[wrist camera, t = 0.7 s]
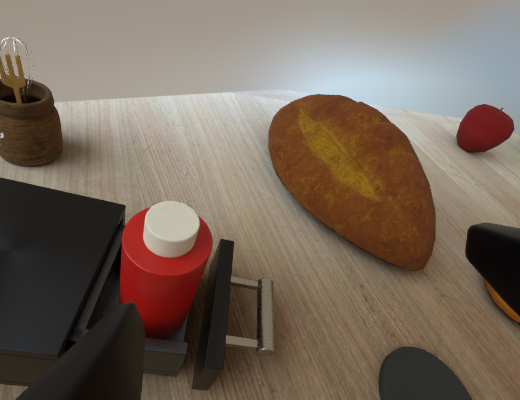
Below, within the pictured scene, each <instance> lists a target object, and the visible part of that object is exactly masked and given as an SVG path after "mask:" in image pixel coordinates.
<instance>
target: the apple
mask: <svg viewBox="0 0 520 400" xmlns="http://www.w3.org/2000/svg"><path fill="white" fill-rule="evenodd" d="M502 109H503V108H501V110H499V109H497V108H495V107H493V106H490V105H486V104H483V105H478V106H476V107H474V108H473V109H471V110H470V111H468V112H467V114H466V116H465V117H464V118H463V120H462V121H461V123H460V126H459V129H458V132H457V140H458V144H459V146H460V147H461V148H462V149H464V150H466V151H468V152H485V151H487V150H490V149H492V148H494V147H496V146H498V145H500V144H501V143H503V142H504V141H505V140H507V139H508V138H510V136H511V134H512V132H513V131H514V123H513V120H512V119H511V118H510V117H509V116H508V115H507V114H505V113H504V112H503V111H502Z"/></svg>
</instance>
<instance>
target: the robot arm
mask: <svg viewBox="0 0 520 400" xmlns="http://www.w3.org/2000/svg"><path fill="white" fill-rule="evenodd" d="M465 254H466V257H467V259H468V261H469V262H470V263H471V264H472V265H473V266H474V268H475V269H476V270H477V271H478V272H479V273H480V274H481V275H482V277H483V278H484V279H485V280H486V281H487V282H488V283H489V285H490V286H491V287H492V288H493V289H494V290H495V291H496V293H497V294H498V295H499V296H500V297H501V298H502V299H503V300H504V301H505V303H506V304H507V305H508V306H509V307H510V308H511V309H512V310H513V311H514V312H515V313H516V314H517V315H518V316H519V317H520V228H514V227H509V226H503V225H497V224H492V223H481V224H476V225H472V226H471V227H469V229H468V233H467V241H466V249H465ZM144 350H145V328H144V324H143V322H142V319H141V317H140V314H139V311H138V309H137V306H136V304H135V303H134V302H127V303H123V304H118V305H116V306H115V307H113V308H112V309H111V310H110V311H109V312H108V313H107V314H106V315H105V316H104V317H103V318H102V319H101V320H100V321H99V322H97V323H96V324H95V325H94V326H93V327H92V328H91V329H90V330H89V331H88V332H87V333H86V334H85V335H84V336H83V337H82V338H80V339H79V340H78V341H77V342H76V343H75V344H74V345H73V346H72V347H71V348H70V349H69V350H68V351H67V352H66V353H65V354H63V355H62V356H61V357H60V358H59V359H58V360H57V361H56V362H55V363H54V364H53V365H52V366H51V367H50V368H49V369H48V370H46V371H45V372H44V373H43V374H42V375H41V376H40V377H39V378H38V379H37V380H36V381H35V382H34V383H33V384H32V385H30V386H29V387H28V388H27V389H26V390H25V391H24V392H23V393H22V394H21V395H20V396H19V397H18V398H17V399H16V400H141V391H142V378H143V364H144Z"/></svg>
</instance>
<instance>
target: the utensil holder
mask: <svg viewBox="0 0 520 400" xmlns="http://www.w3.org/2000/svg"><path fill="white" fill-rule="evenodd" d="M7 39H9V38H7ZM10 39H12V37H10ZM10 39H9V40H10ZM14 39H16V40H17V39H18V38H13V41H14ZM4 40H5V39H4ZM4 40H3V41H4ZM18 40H19V39H18ZM7 41H8V40H6V42H7ZM22 42H23V41H22ZM15 43H16V42H15ZM23 43H24V42H23ZM25 44H26V43H25ZM26 45H27V44H26ZM27 46H28V45H27ZM4 48H6V43H5V45H4ZM16 49H17V48H16ZM26 49H27V48H26ZM14 51H15V50H14ZM0 52H1V46H0ZM25 52H26V51H25ZM27 52H28V51H27ZM17 54H18V53H17ZM26 55H27V54H26ZM4 56H5V61H6V62H7V66H8V68H7V70H8V69H9V71H8V73H10V74H9V75H10V76H7V75H8V74H7V75H6V74H5V71H6V70H5V71H4V65H3V64H2V63H3V62H2V60H1V59H2V57H0V74H1V78H2V79H0V156H1V157H2V158H3V159H5V160H6V161H8V162H11V163H13V164H17V165H22V166H37V165H43V164H46V163H49V162H51V161H53V160H55V159H56V158H58V157H59V155H60V154H61V152H62V148H63V140H62V131H61V123H60V117H59V114H58V111H57V109H56V108H55V106H54V99H53V96H52V93H51V91H50V90H49V89H48V88H47V87H46V86H45V85H43V84H41V83H39V82H36V81H33V80H29V79H25V78H24V75H23V69H22V65H21V60H20V56H19V55H16V53H15V59H16V64H17V68H18V73H19V76H15V74H14V70H13V66H12V62H11V58H10V55H9V54H7V53H6V54H5V51H4ZM31 56H32V53H31ZM27 59H29V57H28V58H27ZM29 64H30V63H29ZM29 64H28V67H29ZM33 67H34V66H33ZM33 75H34V73H33ZM29 76H30V67H29ZM32 79H33V78H32Z"/></svg>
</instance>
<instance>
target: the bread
mask: <svg viewBox="0 0 520 400" xmlns="http://www.w3.org/2000/svg"><path fill="white" fill-rule="evenodd" d="M268 148H269V152H270V156H271V159H272V163H273V166H274V169H275V171H276V174H277V175H278V177H279V178H280V179H281V181H282V182H283V184H284V185H285V186H286V187H287V188H288V190H289V191H290V192H291V193H292V194H293V196H294V197H295V198H296V199H297V200H298V202H299V203H300V204H301V205H302V206H303V207H304V208H306V209H307V210H308V211H309V212H310V213H311V214H313V215H314V216H315V217H316V218H317V219H319V220H320V221H321V222H322V223H324V224H325V225H327V226H328V227H330V228H331V229H333V230H334V231H336V232H337V233H339V234H340V235H342V236H343V237H345V238H346V239H348V240H349V241H351V242H353V243H354V244H356V245H357V246H359V247H361V248H362V249H364V250H365V251H367V252H369V253H370V254H372V255H373V256H376V257H378V258H381V259H383V260H385V261H388V262H390V263H393V264H395V265H397V266H400V267H402V268H405V269H408V270H412V271H414V270H423V269H424V267H425V265H426V263H427V262H428V260H429V258H430V256H431V254H432V250H433V246H434V242H435V217H436V213H435V208H434V203H433V199H432V194H431V189H430V185H429V182H428V179H427V177H426V175H425V173H424V170H423V168H422V166H421V163H420V161H419V159H418V157H417V155H416V153H415V151H414V149H413V147H412V145H411V143H410V141H409V140H408V138H407V136H406V135H405V134H404V133H403V132H402V131H401V130H400V129H399V128H398V127H396V126H395V125H394V124H392V123H391V122H390V121H389V120H388V119H387V118H386V116H384V115H383V114H382V113H381V112H379V111H378V110H377V109H375V108H373V107H371V106H369V105H367V104H365V103H363V102H356V101H354V100H352V99H350V98H348V97H345V96H341V95H320V94H316V95H310V96H306V97H303V98H301V99H298V100H295V101H293V102H291V103H289V104H288V105H286V106H284V107H283V108H281V109H280V110H279V111H278V112H277V113H276V115H275V116H274V117H273V120H272V123H271V126H270V129H269V146H268Z"/></svg>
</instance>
